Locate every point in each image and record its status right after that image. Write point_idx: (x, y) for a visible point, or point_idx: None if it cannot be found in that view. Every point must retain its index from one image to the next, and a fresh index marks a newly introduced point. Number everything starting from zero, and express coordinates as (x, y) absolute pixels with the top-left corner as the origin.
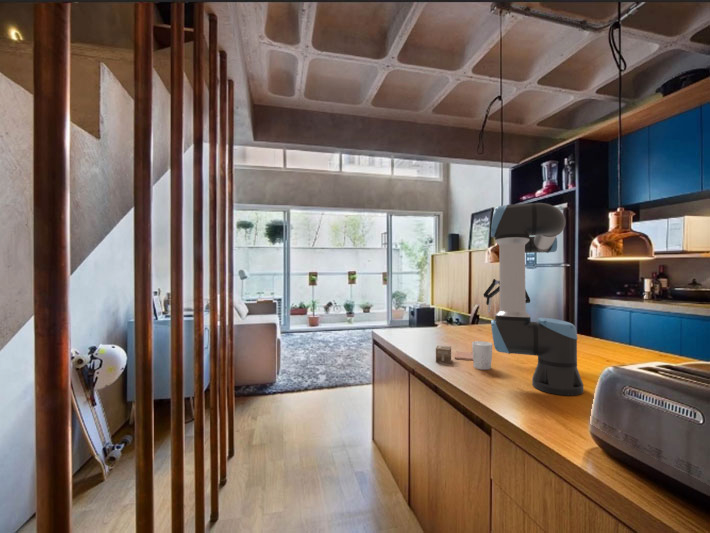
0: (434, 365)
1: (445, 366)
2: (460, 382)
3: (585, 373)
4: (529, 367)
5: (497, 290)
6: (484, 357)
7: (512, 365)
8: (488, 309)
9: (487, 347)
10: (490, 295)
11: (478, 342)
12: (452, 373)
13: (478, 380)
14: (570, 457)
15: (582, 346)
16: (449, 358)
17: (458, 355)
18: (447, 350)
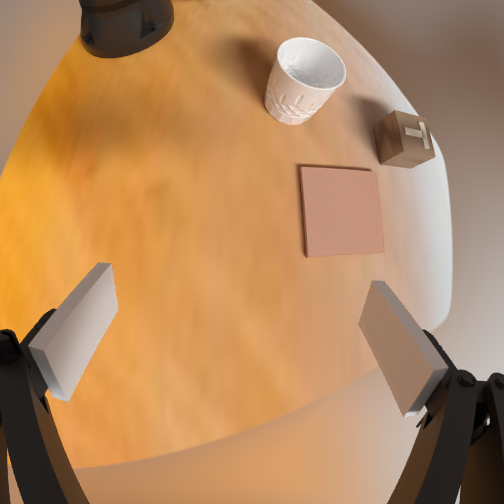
0: (396, 104)
1: (374, 99)
2: (315, 15)
3: (23, 151)
4: (146, 144)
5: (422, 494)
6: (289, 63)
7: (197, 148)
8: (383, 285)
9: (289, 42)
10: (456, 393)
11: (328, 89)
12: (344, 54)
13: (284, 24)
14: None
15: None
16: (381, 122)
17: (371, 196)
18: (398, 112)
